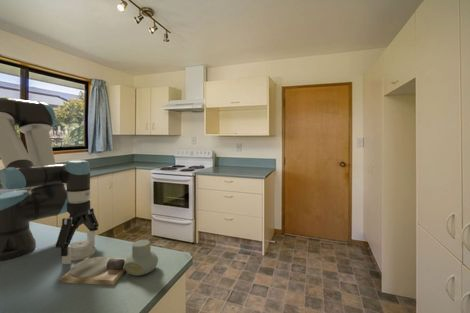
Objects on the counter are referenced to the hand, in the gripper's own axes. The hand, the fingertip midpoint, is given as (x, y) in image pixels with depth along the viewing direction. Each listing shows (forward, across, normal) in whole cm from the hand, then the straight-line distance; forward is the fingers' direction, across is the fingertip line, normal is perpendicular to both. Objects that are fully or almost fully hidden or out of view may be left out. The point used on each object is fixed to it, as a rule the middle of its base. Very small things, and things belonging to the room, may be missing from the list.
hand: (79, 254), depth 89 cm
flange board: (0, -10, -14) cm, 18 cm away
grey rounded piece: (0, -8, -28) cm, 29 cm away
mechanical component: (+1, +1, 0) cm, 1 cm away
